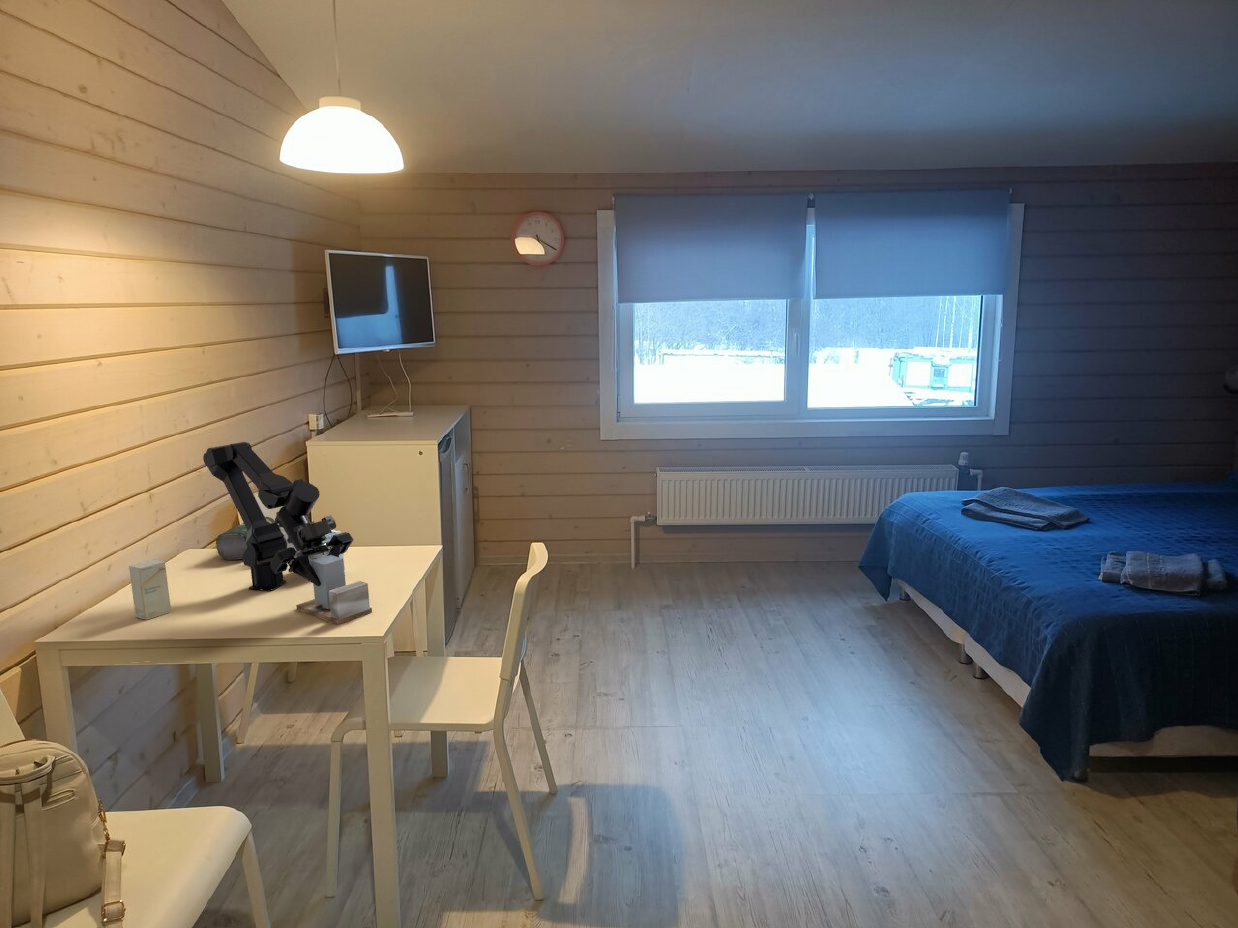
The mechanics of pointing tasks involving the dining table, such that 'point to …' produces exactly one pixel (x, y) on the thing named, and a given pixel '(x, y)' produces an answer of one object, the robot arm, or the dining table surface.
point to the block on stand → (342, 604)
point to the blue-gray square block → (327, 578)
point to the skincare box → (150, 589)
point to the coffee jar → (234, 542)
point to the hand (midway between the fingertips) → (330, 581)
